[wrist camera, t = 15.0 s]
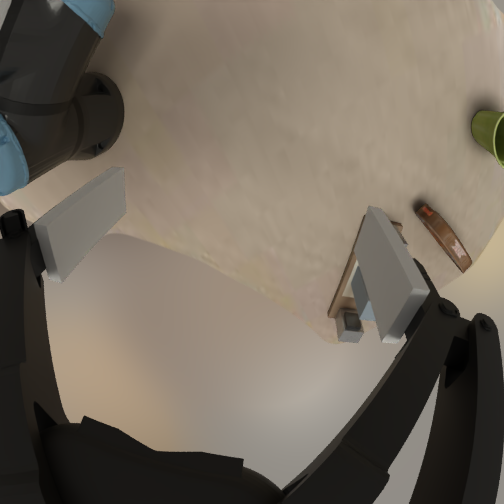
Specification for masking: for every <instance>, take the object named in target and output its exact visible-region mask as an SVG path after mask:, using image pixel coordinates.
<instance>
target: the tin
mask: <svg viewBox="0 0 504 504" xmlns="http://www.w3.org/2000/svg"><path fill="white" fill-rule="evenodd" d="M415 213H416V215H417V216H418V218H419V219H420V220H421V222H422V223H423V224H424V225H425V227H426V228H427V229H428V230H429V232H430V233H431V234H432V235H433V237H434V238H435V239H436V241H437V242H438V243H439V245H440V246H441V247H442V248H443V250H444V251H445V252H446V253H447V255H448V256H449V257H450V258H451V260H452V261H453V262H454V263H455V264H456V266H457V267H458V268H459V269H460V270H461V272H462V273H464V272H465V271H466V270H467V269H468V268H469V267H470V266H471V264H472V260H471V258H470V256H469V255H468V253H467V251H466V250H465V248H464V247H463V245H462V243H461V242H460V240H459V239H458V237H457V236H456V235H455V233H454V232H453V230H452V229H451V228H450V226H449V225H448V224H447V223H446V221H445V220H444V219H443V218H442V217H441V216H440V215H439V214H438V213H437V212H436V211H434V210H433V209H431V208H430V207H429V206H428V204H424V205H423V206H422V207H421V208H420V209H419V210H418V211H417V212H415Z"/></svg>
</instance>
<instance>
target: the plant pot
mask: <svg viewBox="0 0 504 504" xmlns="http://www.w3.org/2000/svg"><path fill="white" fill-rule="evenodd" d="M471 129H472V134H473V137H474V138H475V140H476V141H477V142H478V143H479V144H480V145H481V146H483V147H484V148H485V149H486V150H488V151H489V152H490V153H491V154H492V155H494V157H495V158H496V160H497V162H498V163H499V165H500V166H501V167H502V168H503V169H504V112H503V113H502V112H493V111H479V112H478V113H477V114H476V116H475V117H474V118H473V120H472V125H471Z"/></svg>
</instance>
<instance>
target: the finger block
mask: <svg viewBox="0 0 504 504" xmlns="http://www.w3.org/2000/svg"><path fill="white" fill-rule="evenodd" d="M351 287H352V291H353V295H354V299H355V303H356V308H357V312H358V316H359V319H360V320H370V321H376V320H375V316H374V313H373V309H372V306H371V303H370V299H369V296H368V293H367V289H366V286H365V283H364V280H363V276H362V273H361V270H360V267H359V266H357V269H356V271H355V274H354V276H353V279H352V282H351Z"/></svg>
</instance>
